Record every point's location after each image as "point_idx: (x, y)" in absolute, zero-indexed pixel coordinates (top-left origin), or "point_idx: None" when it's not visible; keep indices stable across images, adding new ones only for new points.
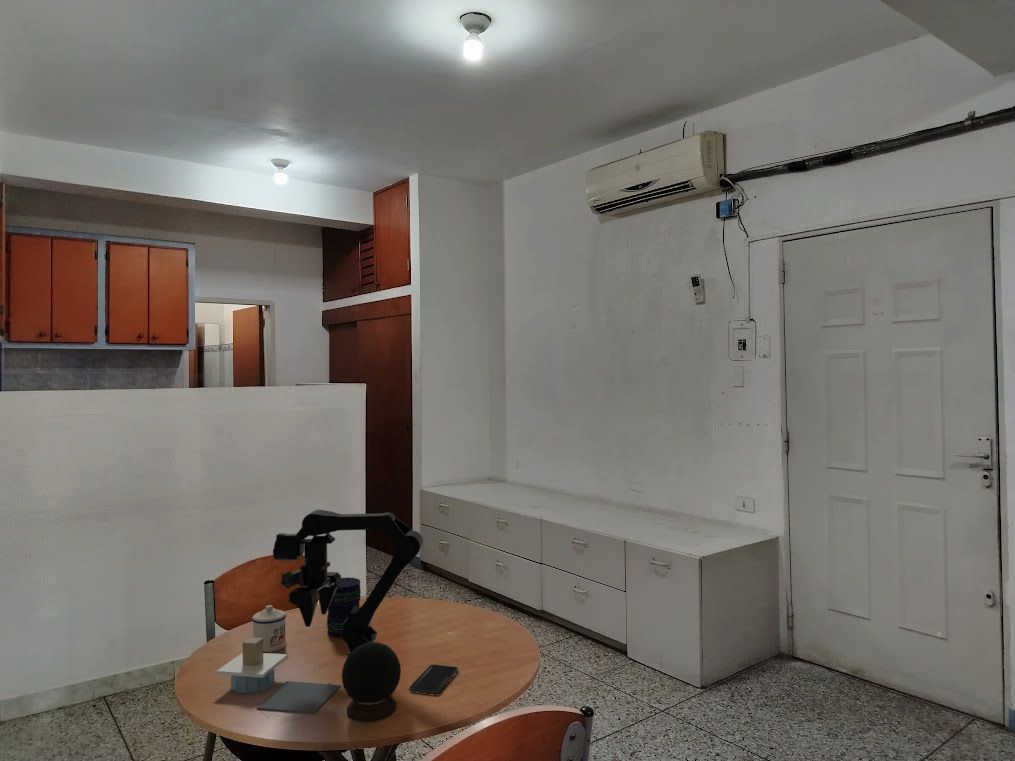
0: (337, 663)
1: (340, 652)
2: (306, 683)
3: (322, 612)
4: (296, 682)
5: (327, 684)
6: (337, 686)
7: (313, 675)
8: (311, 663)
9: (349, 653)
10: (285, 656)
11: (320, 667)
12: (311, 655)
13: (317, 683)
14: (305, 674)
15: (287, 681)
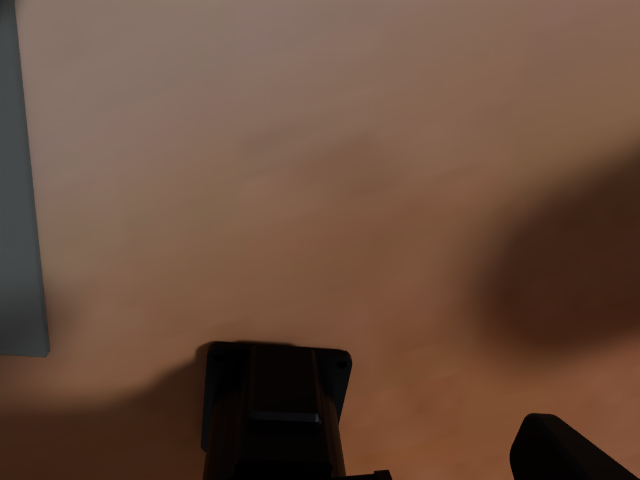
0: (371, 248)
1: (547, 217)
2: (11, 165)
3: (535, 448)
4: (6, 88)
5: (35, 294)
6: (23, 351)
7: (176, 158)
8: (379, 77)
9: (243, 425)
10: None
11: (309, 163)
12: (531, 26)
13: (32, 234)
14: (185, 96)
15: (3, 7)
